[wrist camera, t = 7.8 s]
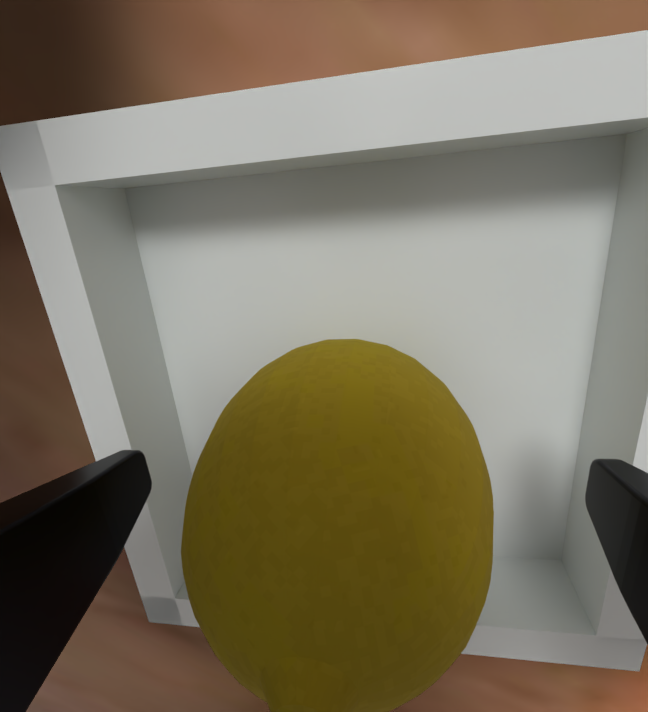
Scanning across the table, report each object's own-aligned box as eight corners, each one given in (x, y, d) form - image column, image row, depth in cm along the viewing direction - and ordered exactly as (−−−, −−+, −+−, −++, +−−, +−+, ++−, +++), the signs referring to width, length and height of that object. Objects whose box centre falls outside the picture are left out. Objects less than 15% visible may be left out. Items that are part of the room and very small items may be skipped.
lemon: (483, 437, 12) (637, 857, 4) (314, 486, 13) (224, 851, 6) (411, 262, 10) (467, 468, 3) (230, 342, 12) (-32, 605, 4)
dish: (191, 549, 16) (149, 622, 13) (87, 146, 11) (-14, 128, 8) (588, 575, 13) (639, 671, 11) (685, 67, 9) (825, 3, 6)
